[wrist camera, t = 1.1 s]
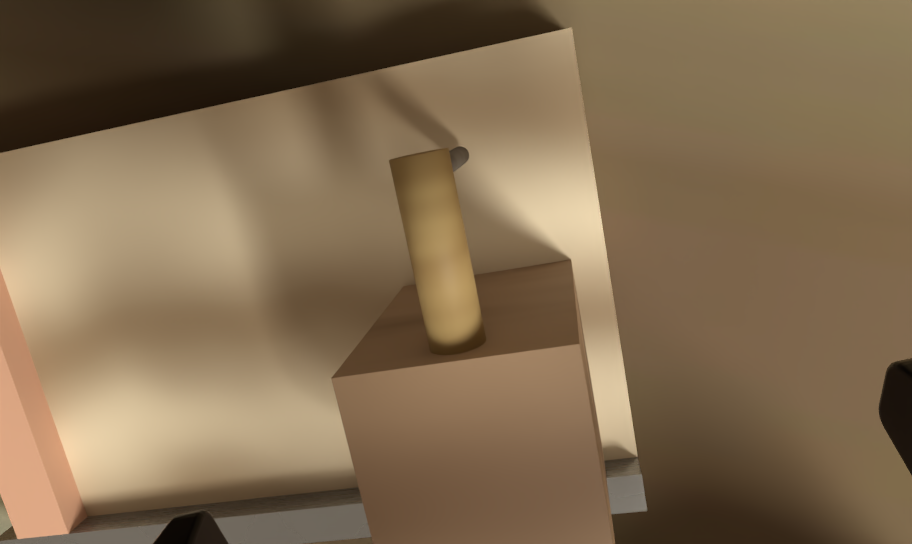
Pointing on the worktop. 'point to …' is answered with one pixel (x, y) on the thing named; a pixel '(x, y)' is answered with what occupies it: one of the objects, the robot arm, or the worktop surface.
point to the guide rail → (291, 516)
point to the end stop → (30, 442)
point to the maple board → (281, 264)
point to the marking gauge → (472, 392)
